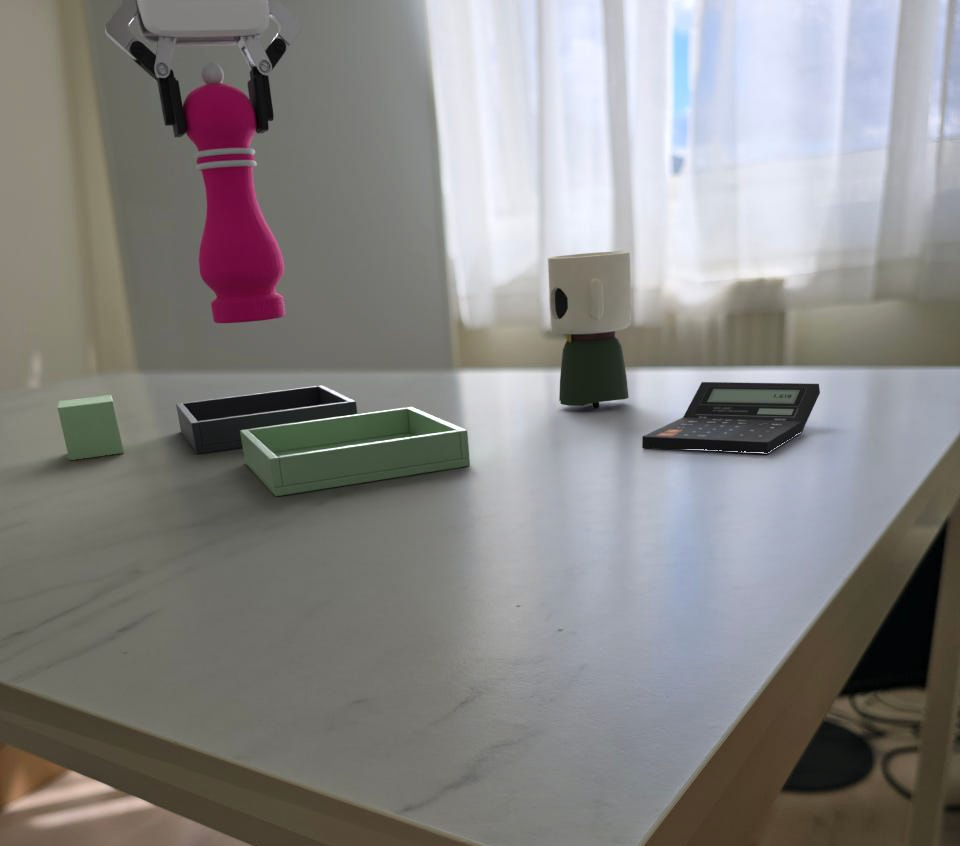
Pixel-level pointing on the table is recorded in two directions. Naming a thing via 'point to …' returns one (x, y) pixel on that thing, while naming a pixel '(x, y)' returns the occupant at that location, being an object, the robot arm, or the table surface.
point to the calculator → (739, 417)
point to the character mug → (591, 324)
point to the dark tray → (256, 414)
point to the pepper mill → (232, 205)
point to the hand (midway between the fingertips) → (221, 131)
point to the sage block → (90, 427)
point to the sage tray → (353, 449)
